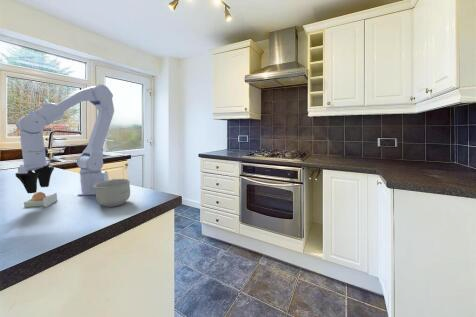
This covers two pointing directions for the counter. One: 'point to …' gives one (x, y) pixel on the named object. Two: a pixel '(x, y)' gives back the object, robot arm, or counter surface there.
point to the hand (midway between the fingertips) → (38, 189)
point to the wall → (50, 199)
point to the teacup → (112, 192)
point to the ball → (38, 196)
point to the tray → (33, 203)
